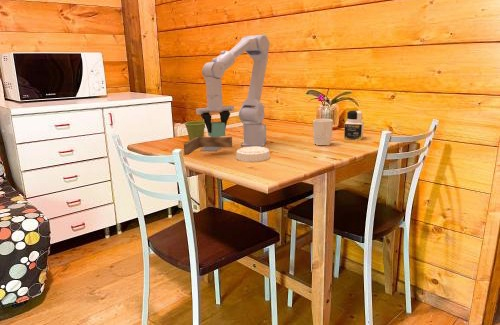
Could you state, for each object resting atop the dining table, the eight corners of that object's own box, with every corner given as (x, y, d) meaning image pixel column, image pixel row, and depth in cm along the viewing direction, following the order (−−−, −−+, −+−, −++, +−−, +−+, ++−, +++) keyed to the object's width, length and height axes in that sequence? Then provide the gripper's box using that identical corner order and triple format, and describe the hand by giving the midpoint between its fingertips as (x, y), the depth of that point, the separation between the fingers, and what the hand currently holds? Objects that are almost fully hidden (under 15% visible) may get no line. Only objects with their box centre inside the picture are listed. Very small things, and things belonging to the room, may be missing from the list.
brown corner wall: (232, 146, 157) (231, 136, 156) (222, 155, 142) (221, 144, 141) (197, 145, 160) (197, 136, 159) (184, 154, 146) (183, 144, 145)
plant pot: (203, 144, 163) (202, 124, 160) (182, 144, 165) (181, 124, 162) (209, 140, 172) (208, 121, 169) (190, 139, 173) (188, 121, 171)
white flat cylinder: (235, 163, 132) (234, 153, 131) (237, 154, 143) (237, 145, 142) (269, 162, 131) (269, 152, 130) (269, 154, 143) (269, 144, 142)
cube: (220, 134, 147) (219, 121, 146) (225, 136, 143) (224, 122, 142) (208, 135, 145) (207, 122, 144) (213, 137, 141) (212, 124, 140)
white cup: (334, 142, 157) (334, 118, 155) (329, 146, 151) (330, 121, 148) (315, 141, 161) (316, 118, 158) (310, 145, 154) (310, 121, 151)
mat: (221, 147, 156) (221, 146, 156) (216, 151, 149) (216, 150, 149) (205, 147, 157) (205, 146, 157) (199, 151, 150) (199, 150, 150)
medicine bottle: (344, 139, 163) (344, 111, 160) (346, 136, 170) (347, 109, 167) (361, 140, 161) (362, 112, 158) (363, 137, 167) (364, 109, 164)
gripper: (199, 97, 134) (202, 135, 137) (236, 94, 140) (238, 131, 143) (193, 96, 140) (195, 132, 143) (229, 93, 146) (230, 128, 150)
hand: (216, 131), depth 144 cm, fingers closed on cube, 5 cm apart
